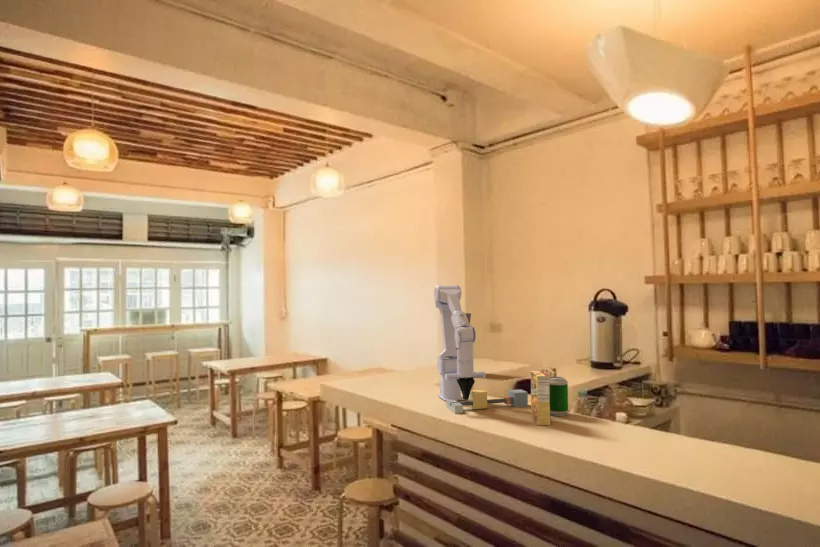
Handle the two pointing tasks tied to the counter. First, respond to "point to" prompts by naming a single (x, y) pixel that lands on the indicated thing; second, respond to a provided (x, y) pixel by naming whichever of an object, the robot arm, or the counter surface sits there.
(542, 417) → the candy box
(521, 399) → the block
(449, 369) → the robot arm
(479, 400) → the sleeve
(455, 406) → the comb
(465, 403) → the red-tipped gray rod
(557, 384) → the soda can
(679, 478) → the counter surface
